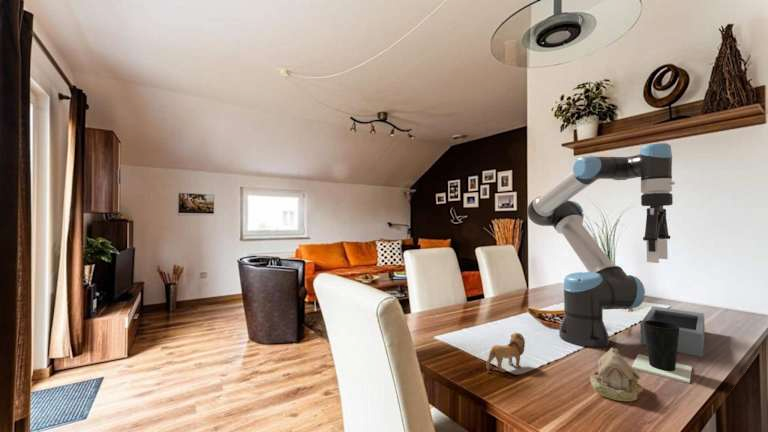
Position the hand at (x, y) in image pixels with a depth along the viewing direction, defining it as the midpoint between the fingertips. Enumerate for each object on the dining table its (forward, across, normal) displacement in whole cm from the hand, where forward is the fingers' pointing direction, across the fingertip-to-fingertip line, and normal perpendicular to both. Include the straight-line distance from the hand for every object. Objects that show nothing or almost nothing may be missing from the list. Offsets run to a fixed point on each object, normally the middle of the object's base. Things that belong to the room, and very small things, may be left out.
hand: (657, 260), depth 100 cm
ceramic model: (+30, -33, +3) cm, 45 cm away
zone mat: (+30, -11, -2) cm, 32 cm away
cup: (+29, -11, -2) cm, 31 cm away
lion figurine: (+30, -43, +27) cm, 59 cm away
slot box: (+30, +24, 0) cm, 38 cm away
